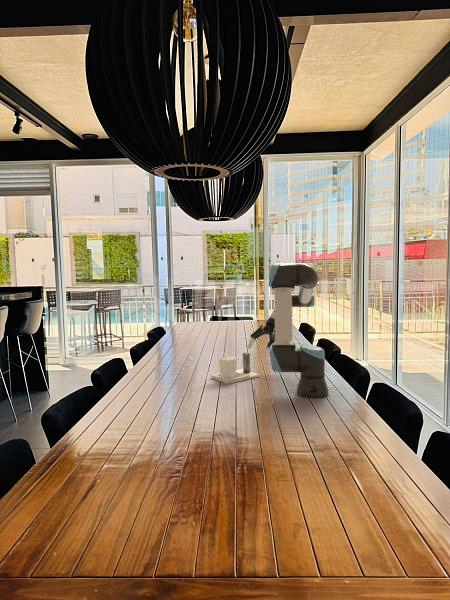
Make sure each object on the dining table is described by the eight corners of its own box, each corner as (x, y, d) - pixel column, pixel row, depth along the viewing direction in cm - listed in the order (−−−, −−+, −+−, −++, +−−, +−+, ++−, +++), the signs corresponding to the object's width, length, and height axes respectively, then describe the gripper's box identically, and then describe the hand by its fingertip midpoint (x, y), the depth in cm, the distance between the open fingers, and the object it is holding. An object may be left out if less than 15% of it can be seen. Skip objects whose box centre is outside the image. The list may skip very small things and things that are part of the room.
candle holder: (215, 380, 237) (215, 358, 236) (225, 376, 245) (225, 355, 244) (230, 382, 231) (230, 361, 230) (240, 378, 239) (239, 357, 238)
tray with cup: (259, 376, 242) (259, 355, 241) (228, 384, 229) (228, 361, 227) (241, 370, 255) (241, 350, 254) (210, 377, 241) (210, 356, 240)
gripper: (292, 327, 250) (274, 356, 243) (263, 322, 270) (245, 350, 262) (286, 319, 247) (267, 348, 239) (256, 315, 266) (238, 342, 258)
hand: (256, 349), depth 250 cm, fingers open, 13 cm apart
